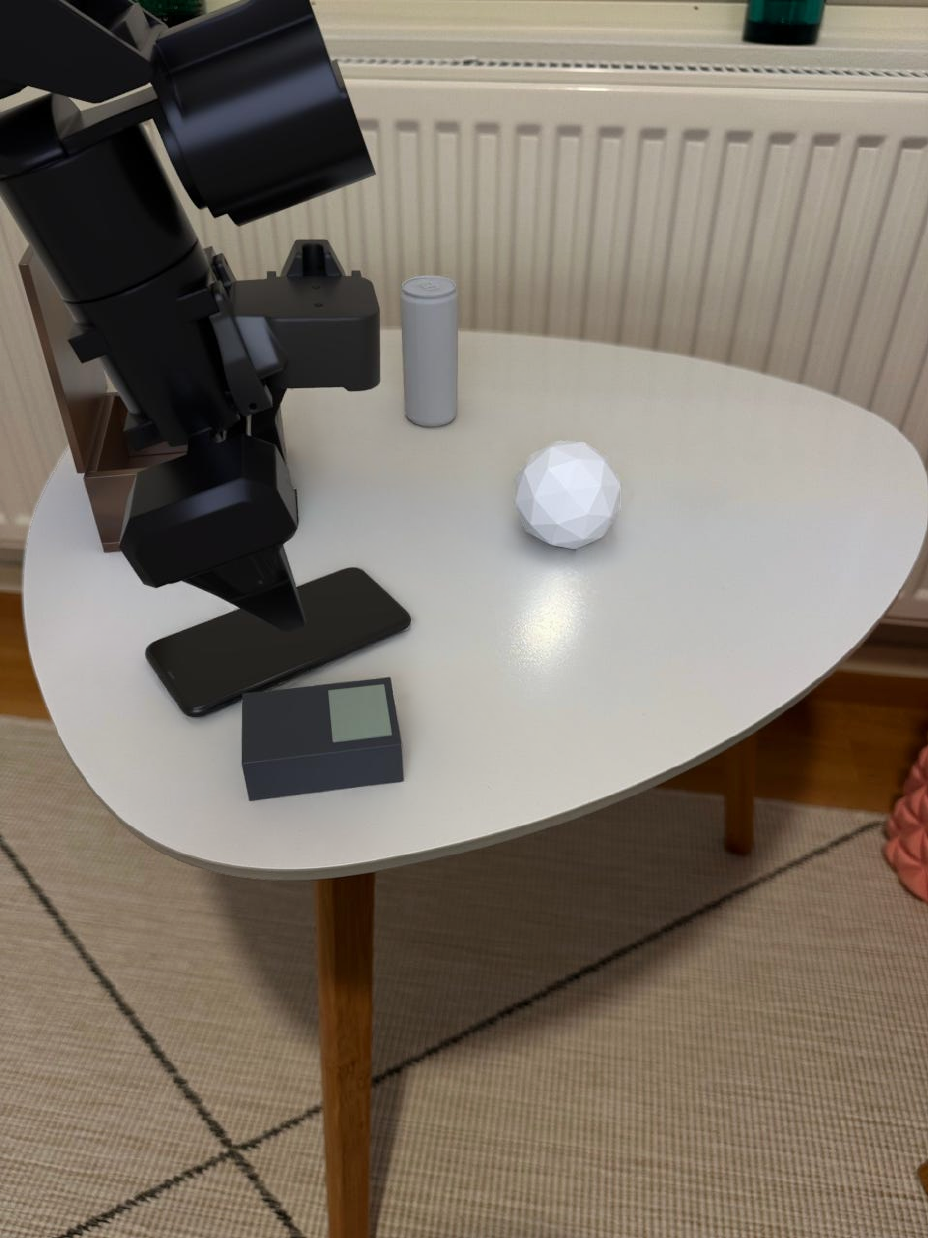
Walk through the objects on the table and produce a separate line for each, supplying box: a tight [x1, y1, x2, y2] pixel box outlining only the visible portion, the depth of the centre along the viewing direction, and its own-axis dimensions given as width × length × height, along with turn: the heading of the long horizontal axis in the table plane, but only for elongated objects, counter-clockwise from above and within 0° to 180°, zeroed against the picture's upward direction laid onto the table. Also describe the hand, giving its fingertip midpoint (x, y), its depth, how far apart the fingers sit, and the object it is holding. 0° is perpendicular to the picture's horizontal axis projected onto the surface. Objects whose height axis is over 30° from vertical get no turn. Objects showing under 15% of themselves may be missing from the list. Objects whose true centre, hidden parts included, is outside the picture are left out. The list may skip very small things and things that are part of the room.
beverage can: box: [399, 274, 459, 428], centre depth 85 cm, size 5×5×12 cm
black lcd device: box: [240, 676, 405, 801], centre depth 55 cm, size 8×6×3 cm, turn 100°
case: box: [82, 391, 287, 553], centre depth 76 cm, size 14×14×6 cm
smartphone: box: [144, 566, 412, 719], centre depth 63 cm, size 8×1×16 cm
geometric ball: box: [514, 439, 622, 550], centre depth 71 cm, size 8×8×8 cm
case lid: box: [18, 244, 109, 475], centre depth 68 cm, size 14×14×1 cm
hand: (292, 568), depth 48 cm, fingers open, 9 cm apart
